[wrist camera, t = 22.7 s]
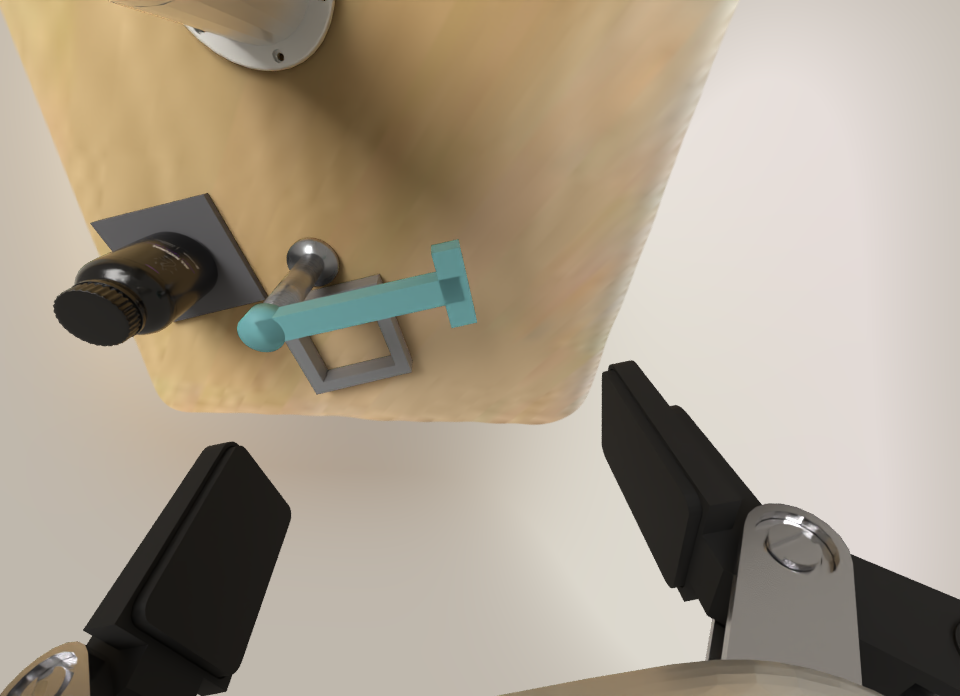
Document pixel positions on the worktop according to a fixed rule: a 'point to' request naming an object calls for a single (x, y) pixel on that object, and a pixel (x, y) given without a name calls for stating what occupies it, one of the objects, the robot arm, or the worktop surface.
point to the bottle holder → (357, 372)
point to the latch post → (305, 271)
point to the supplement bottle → (136, 289)
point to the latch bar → (365, 304)
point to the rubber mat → (206, 228)
